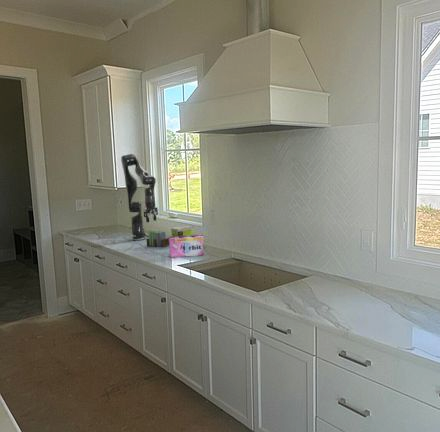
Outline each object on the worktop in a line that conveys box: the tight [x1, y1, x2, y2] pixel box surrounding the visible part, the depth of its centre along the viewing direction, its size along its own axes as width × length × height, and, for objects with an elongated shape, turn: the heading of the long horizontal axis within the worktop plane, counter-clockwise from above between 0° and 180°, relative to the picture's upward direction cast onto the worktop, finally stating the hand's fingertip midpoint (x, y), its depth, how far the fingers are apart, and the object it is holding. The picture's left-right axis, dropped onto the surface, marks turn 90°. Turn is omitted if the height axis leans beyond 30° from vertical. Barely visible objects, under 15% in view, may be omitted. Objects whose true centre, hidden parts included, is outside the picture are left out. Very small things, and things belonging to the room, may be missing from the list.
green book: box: [148, 229, 155, 246], centre depth 326 cm, size 6×2×12 cm, turn 160°
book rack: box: [145, 237, 170, 249], centre depth 324 cm, size 10×15×7 cm, turn 70°
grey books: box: [156, 230, 167, 248], centre depth 323 cm, size 6×4×11 cm, turn 160°
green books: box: [150, 229, 161, 246], centre depth 325 cm, size 6×4×12 cm, turn 160°
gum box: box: [168, 234, 205, 258], centre depth 293 cm, size 24×8×14 cm, turn 103°
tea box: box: [170, 225, 195, 237], centre depth 328 cm, size 15×10×15 cm, turn 134°
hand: (151, 221), depth 324 cm, fingers open, 8 cm apart
